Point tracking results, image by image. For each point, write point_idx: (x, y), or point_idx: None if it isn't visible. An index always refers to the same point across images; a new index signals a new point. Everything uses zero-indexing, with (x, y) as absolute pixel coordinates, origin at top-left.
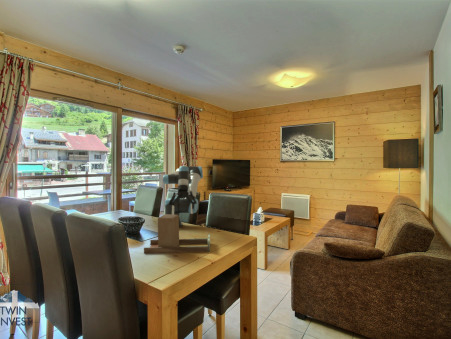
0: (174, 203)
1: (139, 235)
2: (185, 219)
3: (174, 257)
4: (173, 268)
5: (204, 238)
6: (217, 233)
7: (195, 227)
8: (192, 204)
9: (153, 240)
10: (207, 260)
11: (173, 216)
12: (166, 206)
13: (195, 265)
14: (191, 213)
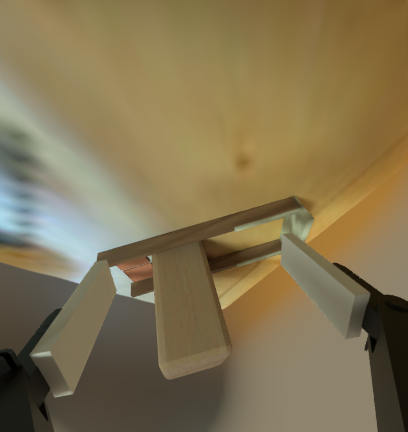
0: (45, 428)
1: None
2: None
3: (212, 274)
4: (222, 291)
5: (285, 215)
6: (370, 51)
7: None
8: (363, 321)
9: (110, 266)
10: (274, 263)
11: (220, 362)
12: None
13: (254, 278)
14: (284, 249)
